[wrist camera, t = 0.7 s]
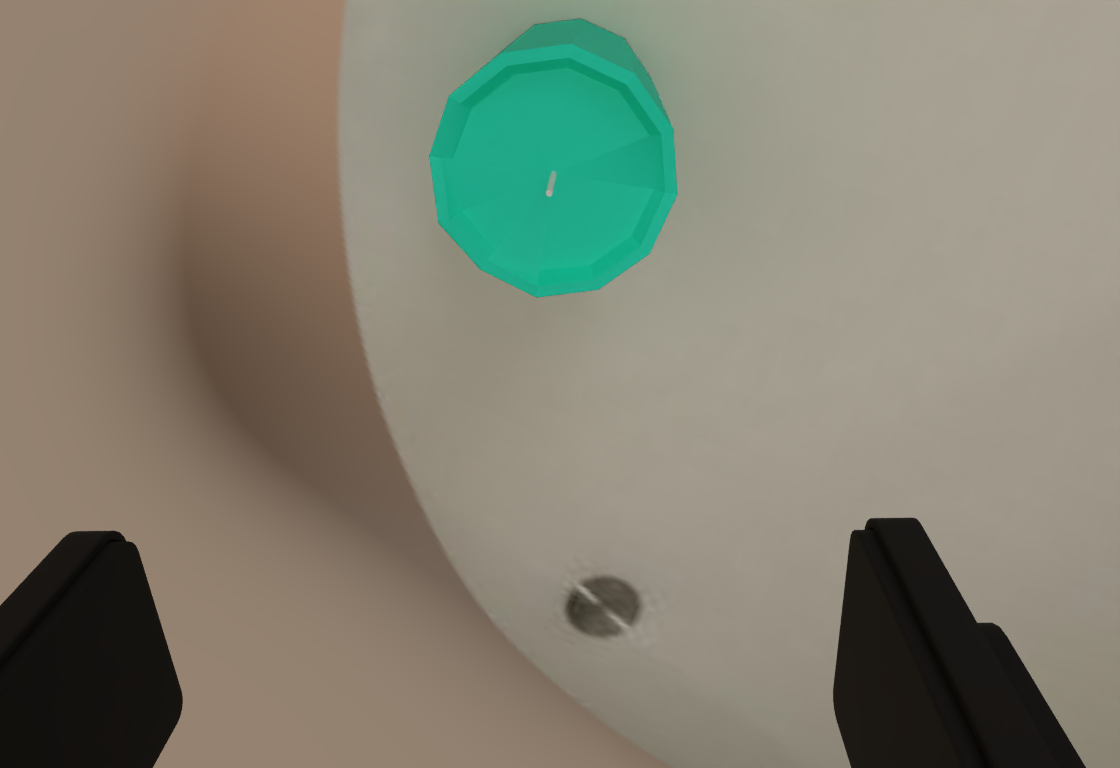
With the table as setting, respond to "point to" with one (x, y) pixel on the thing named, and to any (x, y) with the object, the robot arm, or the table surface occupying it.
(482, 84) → the candle
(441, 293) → the table surface
